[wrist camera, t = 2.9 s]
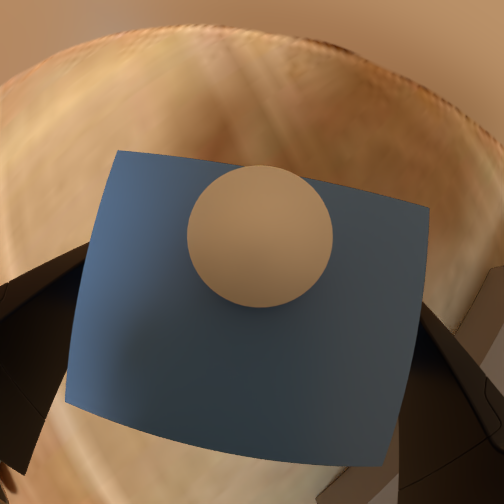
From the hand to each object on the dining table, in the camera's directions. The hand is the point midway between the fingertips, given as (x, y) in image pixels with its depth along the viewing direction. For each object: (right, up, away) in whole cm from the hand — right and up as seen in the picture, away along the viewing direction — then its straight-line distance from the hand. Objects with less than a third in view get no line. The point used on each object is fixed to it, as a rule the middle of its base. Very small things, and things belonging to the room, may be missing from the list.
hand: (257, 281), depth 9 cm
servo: (0, -2, +7) cm, 8 cm away
